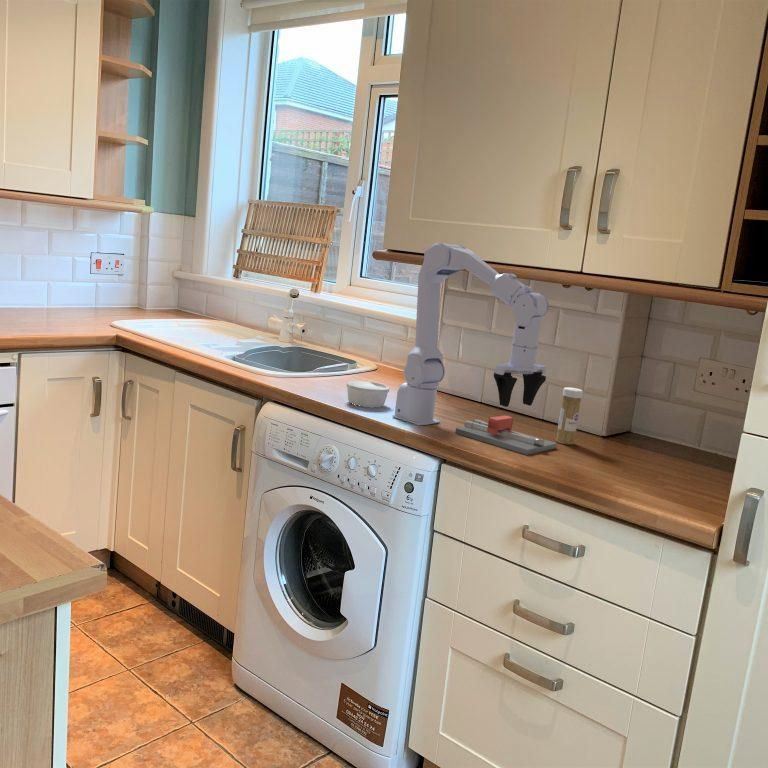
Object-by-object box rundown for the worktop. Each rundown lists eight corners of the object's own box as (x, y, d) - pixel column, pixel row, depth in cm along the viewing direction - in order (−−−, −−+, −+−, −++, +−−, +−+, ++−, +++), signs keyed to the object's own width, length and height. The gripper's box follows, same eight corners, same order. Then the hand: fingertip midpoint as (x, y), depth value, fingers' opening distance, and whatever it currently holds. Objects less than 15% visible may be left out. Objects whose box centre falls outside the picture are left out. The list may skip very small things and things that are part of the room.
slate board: (455, 433, 193) (455, 428, 193) (486, 427, 203) (487, 423, 202) (526, 455, 180) (527, 449, 180) (556, 448, 190) (556, 443, 189)
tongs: (463, 426, 196) (464, 420, 196) (476, 424, 200) (477, 418, 200) (536, 447, 183) (537, 441, 182) (548, 445, 186) (549, 439, 186)
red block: (486, 432, 191) (489, 417, 190) (503, 429, 196) (505, 415, 195) (495, 434, 189) (497, 420, 188) (511, 431, 194) (513, 417, 193)
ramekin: (395, 406, 215) (397, 387, 214) (369, 411, 206) (372, 391, 206) (362, 398, 222) (364, 379, 221) (336, 401, 213) (338, 382, 212)
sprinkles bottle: (571, 446, 193) (580, 391, 191) (552, 442, 196) (561, 387, 193) (576, 443, 197) (585, 389, 195) (558, 439, 200) (567, 385, 197)
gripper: (515, 349, 173) (505, 410, 176) (559, 349, 182) (550, 408, 185) (492, 343, 179) (483, 402, 181) (536, 344, 188) (527, 401, 190)
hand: (515, 405), depth 183 cm, fingers open, 7 cm apart
